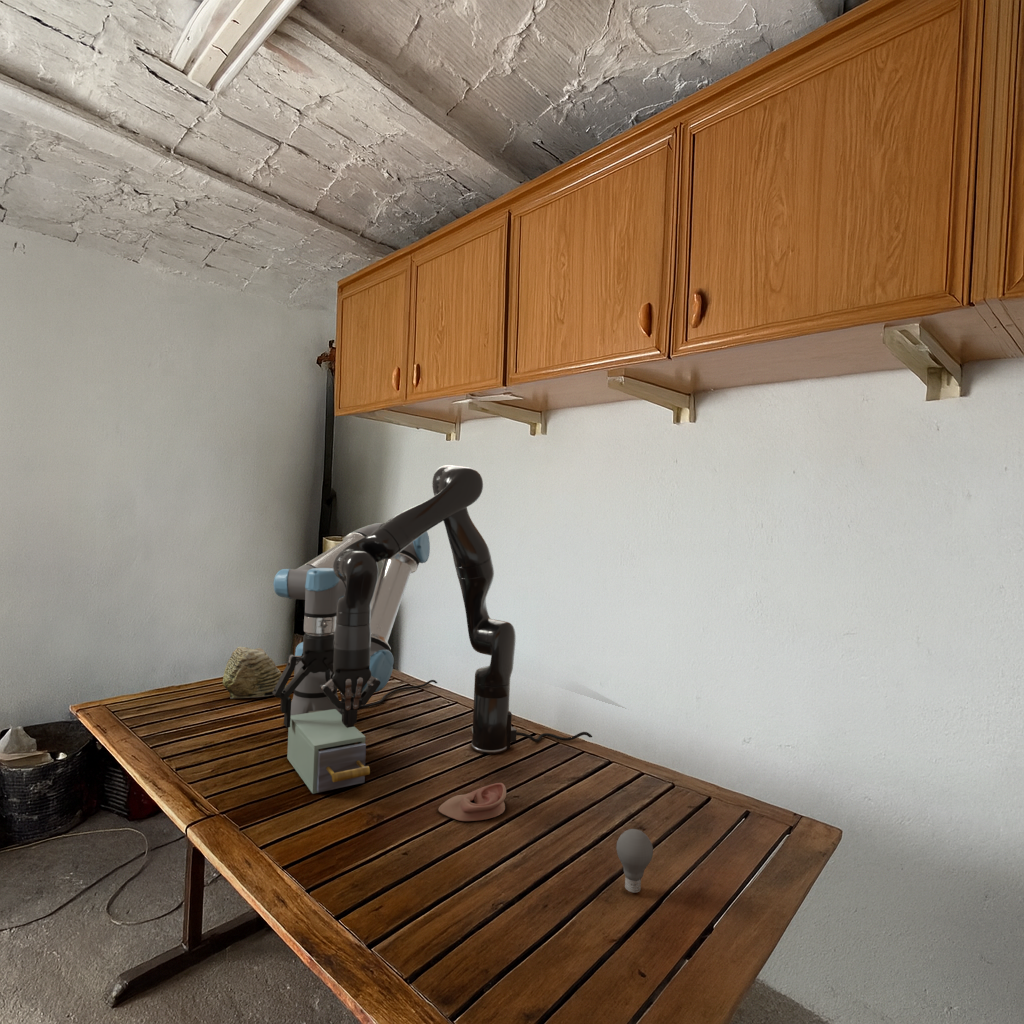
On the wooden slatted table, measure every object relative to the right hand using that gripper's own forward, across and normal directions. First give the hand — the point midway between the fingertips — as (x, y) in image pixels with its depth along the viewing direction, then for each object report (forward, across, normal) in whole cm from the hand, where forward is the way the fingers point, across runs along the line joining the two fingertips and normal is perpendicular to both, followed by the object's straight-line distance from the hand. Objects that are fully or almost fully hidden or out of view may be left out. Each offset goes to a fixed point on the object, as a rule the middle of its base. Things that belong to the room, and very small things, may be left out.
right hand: (349, 726), depth 134 cm
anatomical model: (+15, +21, -17) cm, 31 cm away
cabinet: (+15, 0, +15) cm, 22 cm away
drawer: (+14, 0, +10) cm, 17 cm away
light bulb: (+15, +30, -54) cm, 64 cm away
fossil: (+15, -2, +79) cm, 80 cm away
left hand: (+6, 0, +22) cm, 23 cm away
